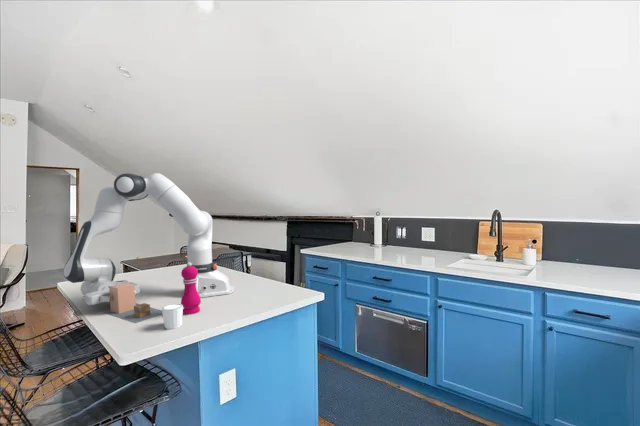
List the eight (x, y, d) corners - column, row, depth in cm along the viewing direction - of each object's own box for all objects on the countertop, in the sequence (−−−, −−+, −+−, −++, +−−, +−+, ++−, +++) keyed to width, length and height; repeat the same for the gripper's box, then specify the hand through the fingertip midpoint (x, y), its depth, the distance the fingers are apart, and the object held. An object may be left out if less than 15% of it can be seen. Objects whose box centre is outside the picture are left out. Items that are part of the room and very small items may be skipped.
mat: (102, 313, 134) (102, 312, 134) (135, 304, 144) (135, 303, 144) (135, 324, 121) (135, 323, 121) (168, 313, 131) (168, 312, 131)
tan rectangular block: (127, 306, 141) (126, 282, 140) (135, 308, 137) (134, 284, 137) (110, 310, 135) (109, 286, 135) (119, 313, 132) (117, 288, 131)
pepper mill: (189, 317, 126) (186, 264, 125) (177, 314, 130) (175, 263, 129) (205, 311, 132) (202, 261, 131) (193, 308, 136) (191, 260, 135)
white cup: (167, 323, 121) (166, 304, 121) (186, 321, 121) (185, 303, 121) (159, 330, 114) (158, 310, 114) (180, 329, 115) (179, 309, 114)
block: (144, 313, 131) (144, 303, 131) (150, 314, 129) (149, 304, 129) (134, 316, 128) (133, 305, 128) (140, 318, 126) (139, 307, 126)
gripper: (77, 290, 135) (94, 295, 127) (129, 279, 152) (146, 282, 144) (78, 306, 135) (95, 311, 127) (130, 293, 152) (147, 297, 145)
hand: (122, 296), depth 136 cm, fingers open, 8 cm apart
